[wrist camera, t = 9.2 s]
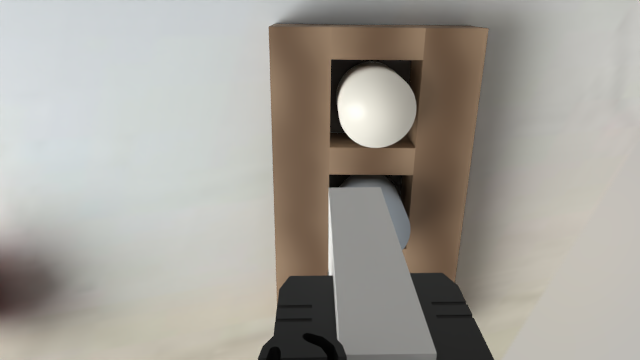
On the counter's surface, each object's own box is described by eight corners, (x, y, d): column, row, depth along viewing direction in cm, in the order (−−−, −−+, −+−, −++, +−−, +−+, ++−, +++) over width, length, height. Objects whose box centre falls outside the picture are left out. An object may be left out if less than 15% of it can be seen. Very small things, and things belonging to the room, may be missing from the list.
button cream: (335, 128, 35) (337, 147, 30) (336, 61, 33) (339, 70, 29) (400, 128, 35) (413, 148, 30) (405, 61, 33) (419, 71, 29)
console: (282, 321, 42) (278, 352, 39) (274, 23, 33) (268, 26, 29) (434, 323, 42) (445, 353, 39) (469, 25, 33) (488, 28, 29)
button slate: (334, 230, 37) (335, 263, 32) (335, 171, 35) (337, 197, 30) (396, 230, 37) (407, 264, 32) (401, 171, 35) (413, 198, 30)
